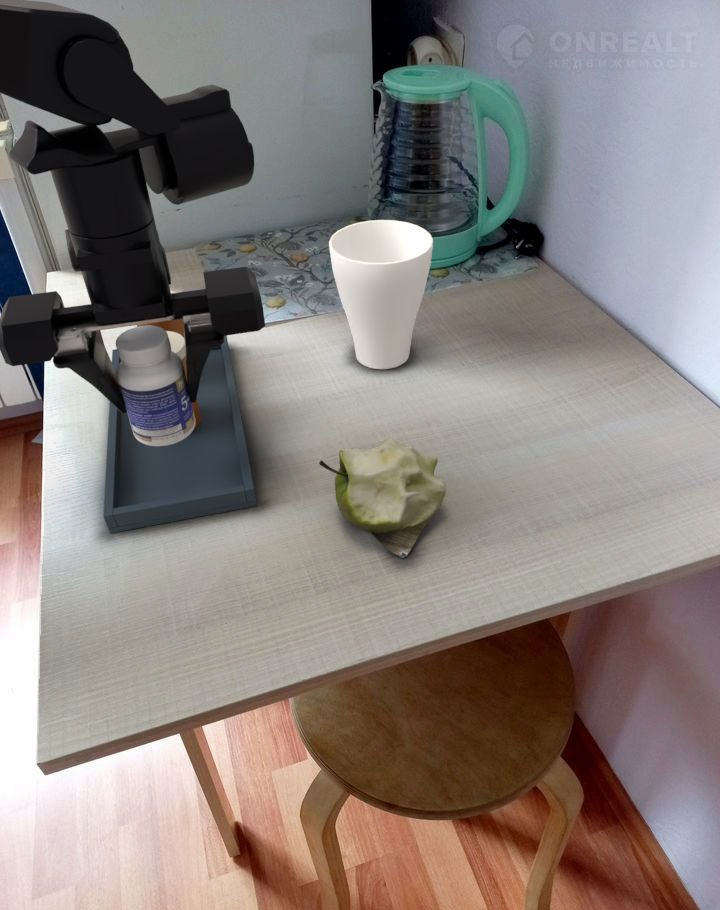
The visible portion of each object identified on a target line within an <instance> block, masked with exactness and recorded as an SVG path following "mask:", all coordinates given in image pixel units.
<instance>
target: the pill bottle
mask: <svg viewBox="0 0 720 910" xmlns="http://www.w3.org/2000/svg"><path fill="white" fill-rule="evenodd" d="M115 347H116V348H115V349H117V352H118V355H119V357H120V360H121V362H120V364H119V365H118V368H117V371H116V376H117V380H118V383H119V387H120V390H121V393H122V397H123V400H124V403H125V406H126V410H127V413H128V416H129V420H130V423H131V427H132V430H133V434H134V436H135V438H136V439H137V440H138V441H140V442H141V443H143V444H146V445H149V446H167V445H171V444H175V443H177V442H179V441H181V440H183V439H185V438H186V437H187V436H189V435H190V434H191V432H192V431H193V429H194V427H195V422H196V420H195V415H194V410H193V406H192V403H191V401H190V398H189V394H188V386H187V380H186V375H185V370H184V366H183V363H182V360H181V358H180V357H179V356H178V355H177V354H176V353H174V352H173V351H171V344H170V341H169V337H168V334H167V332H166V331H165V330H164V329H163V328H161V327H157V326H150V325H149V326H139V327H137V326H135V327H132V328H129V329H127V330H125V331H122V332H121V333H120V334H118V336H117V338H116V339H115Z"/></svg>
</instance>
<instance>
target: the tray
mask: <svg viewBox="0 0 720 910" xmlns="http://www.w3.org/2000/svg"><path fill="white" fill-rule="evenodd" d="M224 338H225V342H224V343H223V344H222V345H219V346H214V347H212V349H211V352H210V354H209V356H208V359H207V361H206V363H205V366H204V368H203V371H202V375H201V380H200V384H199V389H198V393H197V401H198V405H199V410H200V414H201V422H200V424H199V426H198V427H197V428H196V429H195V430H194V431H192V432H191V434H190V435H189V436H187V437H186V438H185V439H183V440H181V441H179V442H177V443H175V444H171V445H167V446H149V445H146V444H143V443H141V442H140V441H138V440H137V439H136V438H135V436H134V434H133V430H132V427H131V423H130V420H129V416H128V413H121V412H120V411H119V410H118V409H117V408H116V407H115V406H114V405H113V404H112V403H111V402H110V401H109V405H108V407H109V409H108V424H107V425H108V426H107V440H106V441H107V442H106V443H107V444H106V445H107V446H106V458H105V459H106V460H105V461H106V463H105V480H104V498H103V513H102V515H103V516H102V517H103V519H104V521H105V525H106V527H107V530H108V532H109V534H115V533H118V532H125V531H129V530H135V529H140V528H145V527H150V526H151V527H153V526H157V525H161V524H166V523H167V524H168V523H172V522H178V521H182V520H183V521H184V520H189V519H195V518H199V517H204V516H210V515H215V514H221V513H226V512H227V513H228V512H233V511H236V510H243V509H248V508H253V507H257V506H258V503H257V498H256V492H255V491H256V490H255V486H254V481H253V475H252V470H251V464H250V458H249V452H248V447H247V441H246V436H245V431H244V426H243V425H244V424H243V419H242V414H241V413H242V412H241V407H240V403H239V396H238V391H237V386H236V380H235V374H234V369H233V368H234V367H233V364H232V358H231V357H232V356H231V353H230V346H229V341H228V335H227V336H224ZM111 351H112V353H111V362H112V365H113V367H114V369H115V372H116V371H117V368H118V365H119V364H120V362H121V360H120V357H119V355H118V352H117V348H115V349H112V350H111Z"/></svg>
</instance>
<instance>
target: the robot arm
mask: <svg viewBox="0 0 720 910" xmlns="http://www.w3.org/2000/svg"><path fill="white" fill-rule="evenodd" d="M0 94H2V95H4V96H7V97H9V98H12V99H14V100H16V101H19V102H22V103H24V104H26V105H29V106H32V107H34V108H37V109H40V110H42V111H44V112H47V113H49V114H53V115H55V116H58V117H61V118H63V119H66V120H68V121H71V122H74V123H76V124H78V125H73V126H70V127H65V128H64V127H63V128H60V129H55V130H51V131H47V130H46V129H45V128H44V127H43V126H41V125H40V124H38V123H36V122H35V121H33V120H26V121H25V124H24V128H23V131H22V133H21V136H20V137H19V138H18V139H17V140H16V142H15V144H13V146H12V148H11V149H10V150H9V153H8V155H9V158H10V160H11V161H13V162H14V163H15V164H17V165H18V166H19V167H21V168H22V169H24V171H26V172H28V173H29V174H30V175H39V174H44V173H47V172H50V174H51V177H52V181H53V184H54V188H55V190H56V194H57V197H58V200H59V203H60V207H61V210H62V214H63V216H64V219H65V223H66V225H67V226H66V227H67V229H65V230H64V234H65V239H66V246H67V247H66V248H67V251H68V256H69V260H70V264H71V267H72V269H73V271H74V272H76V273H77V272H81V276H82V279H83V282H84V285H85V289H86V292H87V295H88V299H89V302H90V303H88V304H82V305H81V304H80V305H73V306H66V307H65V305H64V302H63V299H62V296H61V295H60V293H59V292H57V291H56V290H54V291H46V292H37V293H31V294H24V295H23V294H22V295H15V296H9V297H8V298H7V300H6V301H5V304H4V305H3V307H2V311H1V315H0V353H1V356H2V358H3V361H4V363H5V364H7V365H9V366H11V367H18V366H25V365H31V364H38V363H45V362H51V361H52V363H53V365H54V367H55V368H56V369H60V370H61V369H69V370H71V371H72V372H73V373H75V374H77V375H78V376H79V377H80V378H81V379H83V380H85V382H87V383H89V384H90V385H91V386H93V387H94V388H95V389H96V390H97V391H98V392H99V393H100V394H101V395H103V396H104V398H105V399H107V400H108V401H109V403H110V402H111V403H112V404H113V405H114V406H115V407H116V408H117V409H118V410H119V411H120V412H121V413H127V410H126V406H125V403H124V400H123V397H122V393H121V390H120V387H119V383H118V380H117V376H116V372H115V369H114V367H113V365H112V359H111V358H110V355H109V353H108V351H107V348H106V346H105V342H104V339H103V335H102V331H103V330H111V329H119V328H125V327H132V326H137V325H141V324H148V323H155V322H162V321H170V320H177V319H183V325H184V340H185V357H186V373H187V386H188V394H189V398H190V401H191V403H192V402H196V398H197V393H198V389H199V384H200V380H201V375H202V371H203V368H204V366H205V363H206V361H207V359H208V356H209V354H210V352H211V349H212V347H214V346H219V345H222V344H223V343H224V342H225V338H224V336H227V337H228V336H232V335H240V334H246V333H254V332H259V331H261V330H263V328H265V327H266V321H265V314H264V313H265V312H264V306H263V300H262V296H261V292H260V288H259V285H258V280H257V278H256V274H255V272H253V271H252V270H251V269H250V268H248V266H241V267H240V266H239V267H233V268H223V269H216V270H209V271H203V280H204V285H202V286H194V287H187V288H185V289H183V290H182V291H179V292H177V293H171V292H170V290H171V288H170V286H171V285H172V277H171V272H170V267H169V264H168V259H167V254H166V249H165V248H164V246H163V245H162V243H161V240H160V235H159V231H158V230H157V225H156V219H155V215H154V212H153V211H154V210H153V208H152V203H151V198H150V193H149V189H150V190H151V191H152V192H153V193H154V194H156V195H160V194H162V195H163V196H164V198H166V199H167V200H168V201H169V203H170V204H172V205H176V206H179V205H182V204H186V203H189V202H193V201H196V200H199V199H202V198H203V199H204V198H206V197H210V196H213V195H216V194H220V193H224V192H227V191H230V190H234V189H237V188H240V187H244V186H246V185H248V184H250V182H251V180H252V179H253V175H254V172H255V155H254V147H253V144H252V143H251V142H250V141H249V138H248V135H247V131H246V128H245V127H244V123H242V120H241V119H240V117H239V115H238V114H237V112H236V111H235V110H234V108H232V103H231V102H232V101H231V95H230V91H229V90H228V89H226V88H224V87H221V86H218V85H215V84H209V85H203V86H199V87H197V88H194V89H193V90H191V91H190V92H186V93H181V94H177V95H171V96H167V97H159V95H158V94H157V93H156V92H155V91H154V90H153V89H152V88H151V87H150V86H149V84H147V83H146V81H144V80H143V79H142V77H141V76H140V75H139V74H138V73H137V72H136V71H135V69H134V63H133V59H132V56H131V53H130V50H129V48H128V45H127V44H126V43H125V41H124V39H123V38H122V36H121V34H120V33H119V31H118V29H117V28H115V27H114V26H113V25H112V24H111V23H110V22H108V21H106V20H104V19H102V18H101V17H98V16H96V15H93V14H91V13H87V12H84V11H81V10H77V9H74V8H71V7H66V6H63V5H60V4H56V3H52V2H47V1H37V0H0ZM113 119H114V120H116V121H118V122H119V123H122V124H125V125H126V126H128V127H126V128H123V129H117V130H113V131H112V130H111V131H105V132H103V130H102V129H101V128H100V127H99V126H102V125H106V124H109V123H111V122H112V120H113ZM148 188H149V189H148Z"/></svg>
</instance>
